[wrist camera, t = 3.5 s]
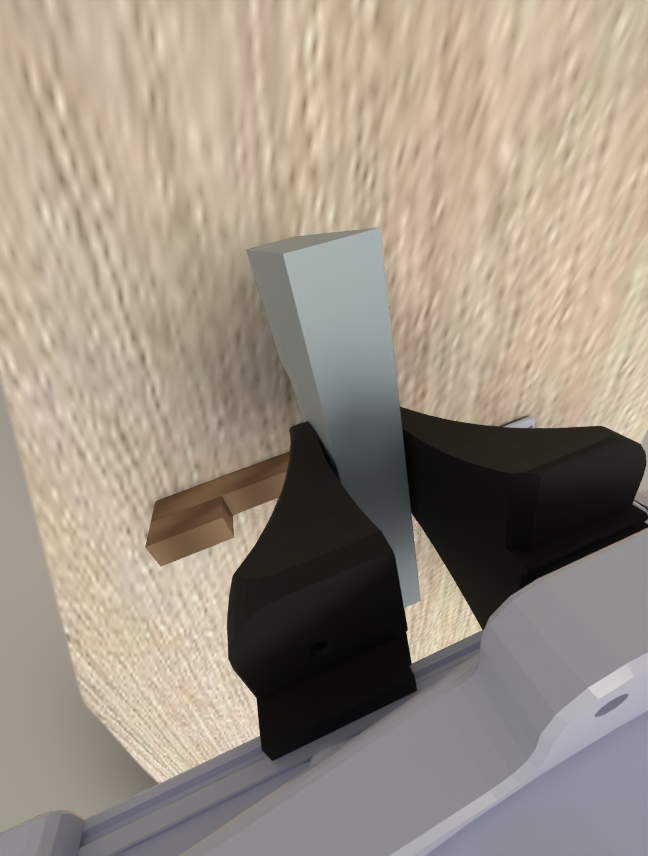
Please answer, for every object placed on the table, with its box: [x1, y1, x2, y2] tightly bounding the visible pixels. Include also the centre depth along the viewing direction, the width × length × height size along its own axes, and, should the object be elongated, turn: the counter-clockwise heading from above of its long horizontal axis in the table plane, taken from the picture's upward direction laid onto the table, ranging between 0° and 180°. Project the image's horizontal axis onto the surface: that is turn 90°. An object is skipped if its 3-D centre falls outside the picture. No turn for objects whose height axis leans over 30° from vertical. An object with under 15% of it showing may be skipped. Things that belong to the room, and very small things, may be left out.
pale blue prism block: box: [246, 228, 421, 608], centre depth 12 cm, size 12×2×7 cm, turn 13°
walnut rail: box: [145, 452, 290, 566], centre depth 22 cm, size 14×2×4 cm, turn 104°
